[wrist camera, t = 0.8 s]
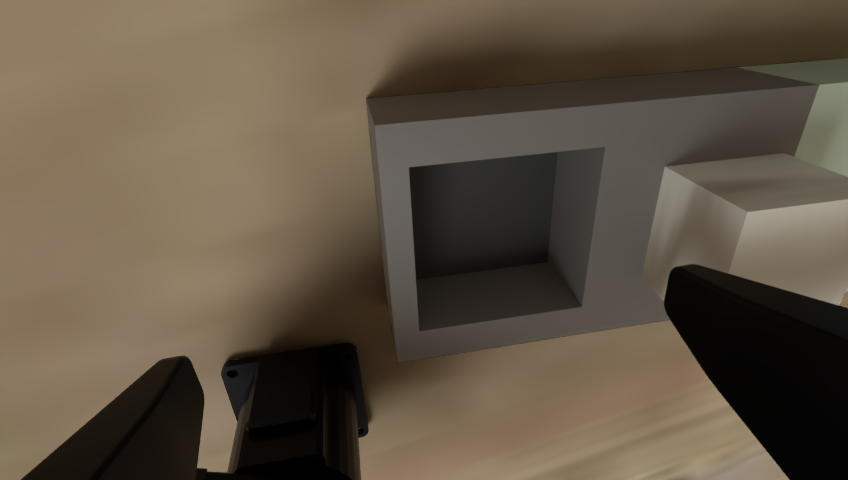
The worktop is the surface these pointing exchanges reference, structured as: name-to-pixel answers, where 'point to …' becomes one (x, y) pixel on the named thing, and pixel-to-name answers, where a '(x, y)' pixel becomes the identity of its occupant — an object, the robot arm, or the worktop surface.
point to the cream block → (753, 224)
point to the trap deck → (564, 192)
